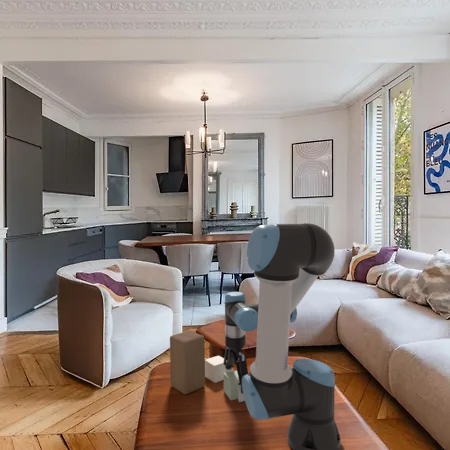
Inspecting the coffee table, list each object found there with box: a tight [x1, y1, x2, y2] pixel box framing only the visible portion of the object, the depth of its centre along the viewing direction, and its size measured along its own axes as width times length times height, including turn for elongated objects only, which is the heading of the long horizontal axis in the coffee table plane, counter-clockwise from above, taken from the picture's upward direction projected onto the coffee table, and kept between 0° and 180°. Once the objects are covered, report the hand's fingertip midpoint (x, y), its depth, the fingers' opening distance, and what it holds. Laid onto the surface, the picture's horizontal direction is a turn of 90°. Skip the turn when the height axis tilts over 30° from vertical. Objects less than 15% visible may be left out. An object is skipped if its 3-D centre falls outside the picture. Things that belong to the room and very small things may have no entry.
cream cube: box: [205, 355, 226, 384], centre depth 146 cm, size 7×7×7 cm
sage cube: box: [223, 370, 240, 401], centre depth 133 cm, size 7×7×7 cm
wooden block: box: [169, 330, 206, 395], centre depth 138 cm, size 10×10×20 cm
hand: (235, 393), depth 133 cm, fingers open, 11 cm apart
